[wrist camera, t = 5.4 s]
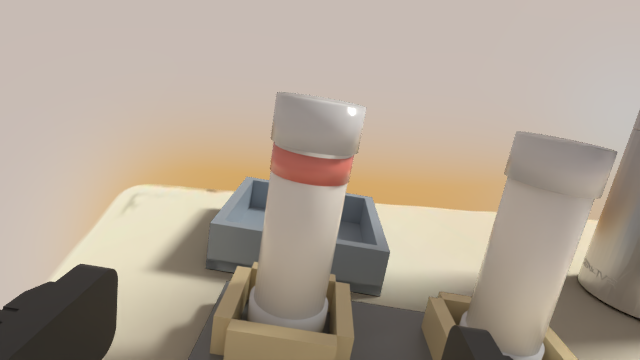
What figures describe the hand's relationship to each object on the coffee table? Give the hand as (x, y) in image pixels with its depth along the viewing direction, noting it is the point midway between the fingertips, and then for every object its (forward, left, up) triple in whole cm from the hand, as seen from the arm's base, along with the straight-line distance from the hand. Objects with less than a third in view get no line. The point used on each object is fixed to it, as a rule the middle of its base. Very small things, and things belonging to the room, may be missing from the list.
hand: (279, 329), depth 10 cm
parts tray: (0, -24, -9) cm, 25 cm away
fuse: (-11, -10, -7) cm, 16 cm away
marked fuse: (0, -10, -7) cm, 12 cm away
